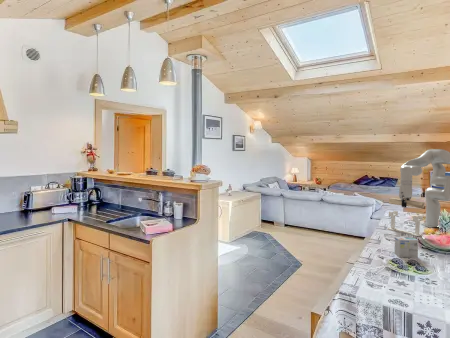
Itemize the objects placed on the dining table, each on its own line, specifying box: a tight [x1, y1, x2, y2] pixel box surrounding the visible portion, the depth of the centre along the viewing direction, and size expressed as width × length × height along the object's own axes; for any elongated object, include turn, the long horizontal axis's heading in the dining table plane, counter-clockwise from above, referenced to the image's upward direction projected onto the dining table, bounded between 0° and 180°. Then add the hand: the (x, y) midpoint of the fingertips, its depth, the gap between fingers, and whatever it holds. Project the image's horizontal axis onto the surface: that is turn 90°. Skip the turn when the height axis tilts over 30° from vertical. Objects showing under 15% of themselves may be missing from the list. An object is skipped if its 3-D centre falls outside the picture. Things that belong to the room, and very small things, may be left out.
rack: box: [387, 210, 424, 237], centre depth 222 cm, size 7×23×14 cm, turn 30°
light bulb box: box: [394, 236, 419, 259], centre depth 175 cm, size 11×7×11 cm, turn 84°
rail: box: [388, 197, 426, 210], centre depth 221 cm, size 4×24×4 cm, turn 30°
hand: (405, 206), depth 221 cm, fingers closed on rail, 4 cm apart
